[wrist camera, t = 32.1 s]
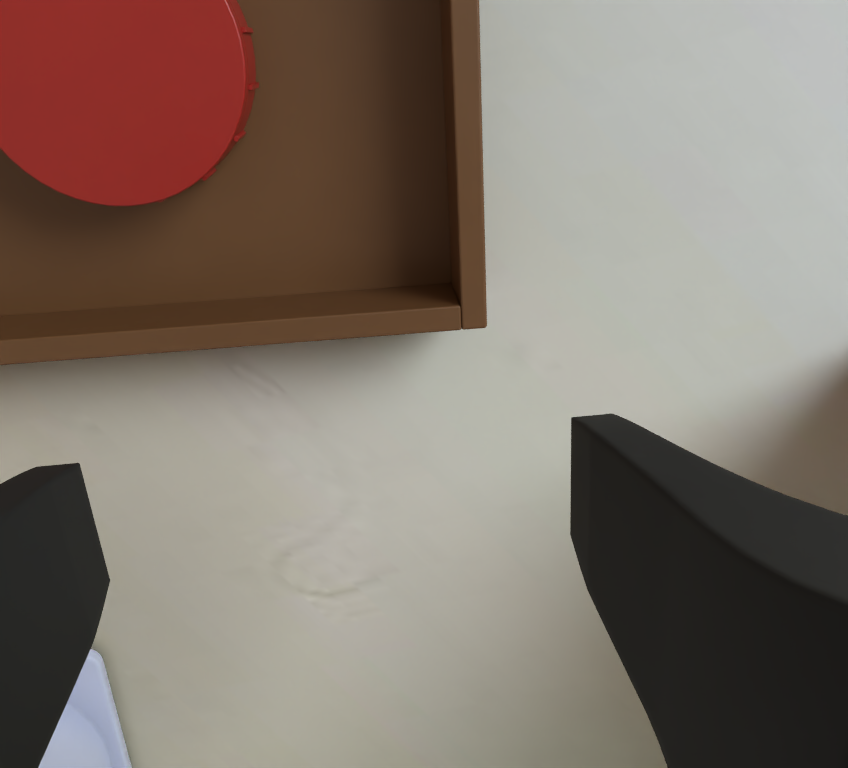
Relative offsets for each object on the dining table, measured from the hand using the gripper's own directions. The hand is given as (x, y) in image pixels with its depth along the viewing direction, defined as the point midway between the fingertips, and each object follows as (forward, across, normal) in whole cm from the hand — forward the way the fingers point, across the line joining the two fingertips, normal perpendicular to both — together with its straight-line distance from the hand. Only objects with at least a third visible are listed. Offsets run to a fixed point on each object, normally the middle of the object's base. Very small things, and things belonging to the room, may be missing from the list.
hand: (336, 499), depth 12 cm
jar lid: (+8, +4, -6) cm, 11 cm away
